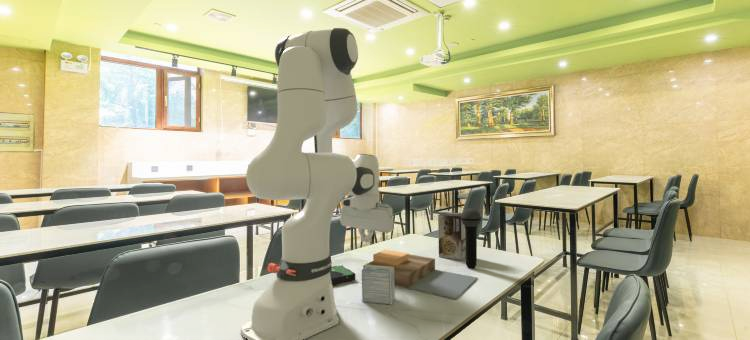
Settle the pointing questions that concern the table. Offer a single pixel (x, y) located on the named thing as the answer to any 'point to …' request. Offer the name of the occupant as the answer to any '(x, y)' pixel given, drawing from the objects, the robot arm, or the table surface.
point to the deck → (409, 270)
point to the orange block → (390, 257)
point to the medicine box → (378, 284)
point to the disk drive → (341, 275)
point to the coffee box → (451, 236)
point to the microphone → (471, 235)
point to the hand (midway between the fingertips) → (366, 241)
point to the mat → (444, 284)
